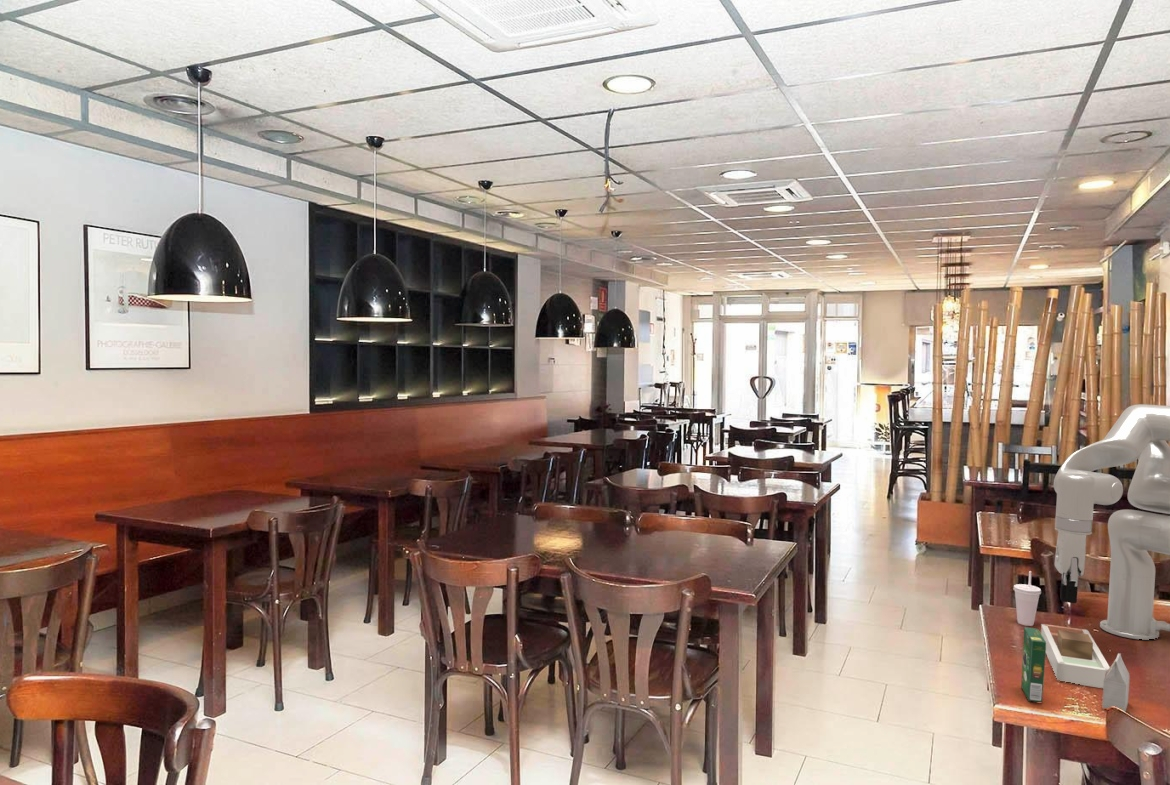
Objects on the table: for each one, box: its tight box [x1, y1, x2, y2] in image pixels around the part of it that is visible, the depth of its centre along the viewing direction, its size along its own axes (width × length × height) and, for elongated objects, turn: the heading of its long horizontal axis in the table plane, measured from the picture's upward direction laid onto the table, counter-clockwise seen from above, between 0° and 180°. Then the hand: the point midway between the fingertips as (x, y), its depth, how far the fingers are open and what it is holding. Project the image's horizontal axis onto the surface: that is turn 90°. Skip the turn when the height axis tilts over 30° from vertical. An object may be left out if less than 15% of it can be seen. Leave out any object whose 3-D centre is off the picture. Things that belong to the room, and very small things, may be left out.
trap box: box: [1040, 623, 1111, 689], centre depth 182 cm, size 10×28×4 cm, turn 157°
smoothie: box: [1013, 570, 1042, 627], centre depth 208 cm, size 6×6×14 cm
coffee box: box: [1020, 626, 1046, 703], centre depth 163 cm, size 8×3×13 cm, turn 160°
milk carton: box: [1101, 652, 1131, 712], centre depth 159 cm, size 4×7×10 cm, turn 140°
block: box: [1057, 630, 1093, 660], centre depth 181 cm, size 6×6×4 cm
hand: (1068, 601), depth 188 cm, fingers closed
